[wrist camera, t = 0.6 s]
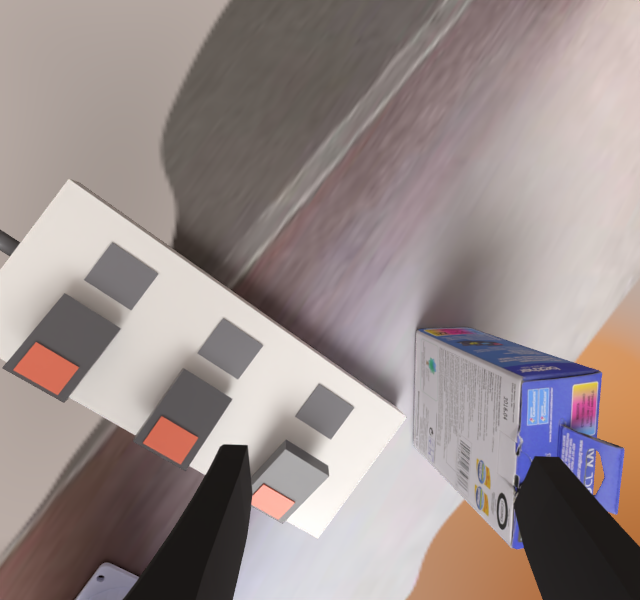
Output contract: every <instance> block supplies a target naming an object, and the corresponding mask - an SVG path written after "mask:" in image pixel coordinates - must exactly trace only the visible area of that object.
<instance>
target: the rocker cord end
mask: <svg viewBox="0 0 640 600" xmlns="http://www.w3.org/2000/svg"><path fill="white" fill-rule="evenodd" d="M120 330H121V328H120V327H118V326H116V325H115V324H113V323H112V322H110V321H109V320H107V319H105V318H104V317H102V316H101V315H99V314H97V313H96V312H94V311H93V310H91V309H90V308H88V307H86V306H85V305H83V304H82V303H80V302H78V301H77V300H75V299H74V298H72V297H71V296H69V295H67V294H65V293H64V294H63V295H62V297H61V298H60V299H59V300H58V301H57V303H56V304H55V305H54V306H53V307H52V309H51V310H50V311H49V312H48V313H47V315H46V316H45V317H44V318H43V319H42V321H41V322H40V323H39V324H38V325H37V327H36V328H35V329H34V330H33V331H32V333H31V334H30V335H29V336H28V337H27V339H26V340H25V341H24V342H23V343H22V345H21V346H20V347H19V348H18V350H17V351H16V352H15V353H14V354H13V356H12V357H11V358H10V359H9V360H8V362H7V363H6V364H5V365H4V366H3V369H5V370H6V371H8V372H10V373H12V374H14V375H15V376H17V377H19V378H21V379H22V380H24V381H26V382H28V383H30V384H32V385H33V386H35V387H37V388H39V389H41V390H42V391H44V392H46V393H47V394H49V395H51V396H53V397H55V398H56V399H58V400H60V401H62V402H65V401H66V400H67V399H68V398H69V397H70V395H71V394H72V393H73V391H74V390H75V389H76V388H77V386H78V385H79V384H80V382H81V381H82V380H83V378H84V377H85V376H86V375H87V373H88V372H89V371H90V369H91V368H92V367H93V365H94V364H95V363H96V361H97V360H98V359H99V358H100V356H101V355H102V354H103V352H104V351H105V350H106V348H107V347H108V346H109V345H110V343H111V342H112V341H113V339H114V338H115V337H116V335H117V334H118V333H119V332H120Z"/></svg>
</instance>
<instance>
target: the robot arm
mask: <svg viewBox="0 0 640 600" xmlns="http://www.w3.org/2000/svg"><path fill="white" fill-rule="evenodd" d="M252 495H253V493H252V483H251V473H250V463H249V453H248V445H234V444H223V445H222V446H220V447H219V450H218V452H217V454H216V456H215V458H214V460H213V462H212V464H211V466H210V468H209V470H208V471H207V473H206V475H205V477H204V479H203V481H202V482H201V484H200V486H199V488H198V489H197V491H196V493H195V495H194V496H193V498H192V500H191V501H190V503H189V504H188V506H187V508H186V509H185V511H184V512H183V514H182V516H181V517H180V519H179V520H178V522H177V524H176V525H175V527H174V528H173V530H172V531H171V533H170V534H169V536H168V537H167V539H166V540H165V542H164V543H163V545H162V546H161V548H160V549H159V550H158V552H157V553H156V555H155V556H154V558H153V559H152V561H151V562H150V564H149V565H148V566H147V568H146V569H145V571H144V572H143V573H142V575H141V576H140V577H138V576H136V575H134V574H132V573H130V572H128V571H126V570H123V569H121V568H119V567H117V566H115V565H113V564H111V563H103V564H101V565H100V566H99V568H98V569H97V570H96V572H95V573H94V574H93V576H92V577H91V578H90V580H89V581H88V582H87V584H86V585H85V587H84V588H83V589H82V591H81V592H80V593H79V595H78V596H77V597H76V599H75V600H233V596H234V592H235V587H236V583H237V579H238V574H239V570H240V566H241V561H242V557H243V552H244V548H245V544H246V539H247V533H248V526H249V519H250V511H251V503H252ZM513 505H514V509H515V514H516V518H517V522H518V527H519V531H520V535H521V538H522V542H523V546H524V549H525V552H526V555H527V558H528V560H529V563H530V566H531V569H532V571H533V574H534V577H535V580H536V582H537V585H538V588H539V591H540V593H541V596H542V599H543V600H640V547H639V546H638V545H637V543H635V541H634V540H633V539H632V538H631V537H630V536H629V535H628V534H627V533H626V532H625V531H624V529H623V528H622V527H621V526H620V525H619V524H618V523H617V522H616V521H615V520H614V518H613V517H612V516H611V515H610V514H609V513H608V512H607V511H606V510H605V508H604V507H603V506H602V505H601V504H600V503H599V502H598V500H597V499H596V498H595V497H594V496H593V495H592V494H591V493H590V491H589V490H588V489H587V488H586V487H585V486H584V485H583V483H582V482H581V481H580V480H579V479H578V478H577V477H576V475H575V474H574V473H573V472H572V471H571V470H570V469H569V467H568V466H567V465H566V464H565V463H564V462H563V461H562V460H561V458H560V457H547V456H534V459H533V461H532V463H531V465H530V468H529V470H528V472H527V474H526V477H525V479H524V481H523V484H522V486H521V488H520V490H519V493H518V495H517V497H516V499H515V502H514V504H513ZM99 575H103V576H104V577H103V578H100V577H99Z"/></svg>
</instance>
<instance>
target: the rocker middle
mask: <svg viewBox="0 0 640 600" xmlns="http://www.w3.org/2000/svg"><path fill="white" fill-rule="evenodd" d="M231 401H232V398H230V397H229V396H227V395H226V394H224V393H223V392H221V391H219V390H218V389H216V388H215V387H213V386H212V385H210V384H208V383H207V382H205V381H204V380H202V379H200V378H199V377H197V376H196V375H194V374H193V373H191V372H189V371H188V370H186V369H185V368H183V369H182V370H181V371H180V373H179V374H178V376H177V377H176V378H175V380H174V381H173V383H172V384H171V386H170V387H169V388H168V390H167V391H166V393H165V394H164V396H163V397H162V398H161V400H160V401H159V403H158V404H157V405H156V407H155V408H154V410H153V411H152V413H151V414H150V415H149V417H148V418H147V420H146V421H145V423H144V424H143V425H142V427H141V428H140V430H139V431H138V432H137V434H136V435H135V437H134V439H133V442H135V443H136V444H138V445H140V446H142V447H144V448H145V449H147V450H149V451H151V452H152V453H154V454H156V455H158V456H160V457H161V458H163V459H165V460H167V461H168V462H170V463H172V464H174V465H176V466H177V467H179V468H181V469H183V470H184V471H186V470H187V468H188V467H189V465H190V464H191V462H192V461H193V459H194V457H195V456H196V454H197V453H198V451H199V450H200V448H201V447H202V445H203V444H204V442H205V441H206V439H207V438H208V436H209V435H210V433H211V432H212V430H213V428H214V427H215V425H216V424H217V422H218V421H219V419H220V418H221V416H222V415H223V413H224V412H225V410H226V409H227V407H228V406H229V404H230V403H231Z"/></svg>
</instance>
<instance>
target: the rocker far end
mask: <svg viewBox="0 0 640 600" xmlns="http://www.w3.org/2000/svg"><path fill="white" fill-rule="evenodd" d="M328 477H329V469H328V465H326V464H325V463H323V462H322V461H320V460H318V459H317V458H315V457H314V456H312V455H310V454H309V453H307V452H306V451H304V450H302V449H301V448H299V447H298V446H296V445H294V444H293V443H291V442H290V441H288V440H285V441H284V442H283V443H282V444H281V445H280V446H279V447H278V448H277V449H276V450H275V452H274V453H273V454H272V455H271V456H270V457H269V458H268V459H267V460H266V461H265V462H264V464H263V465H262V466H261V467H260V468H259V469H258V470H257V471H256V472H255V473H254V474H253V475H252V477H251V483H252V493H253V495H252V503H251V506H252V507H254V508H255V509H257V510H259V511H261V512H263V513H264V514H266V515H268V516H270V517H271V518H273V519H275V520H277V521H279V522H280V523H282V524H283V523H284V522H285V521H286V520H287V519H288V518H289V517H290V516H291V515H292V514H293V513H294V512H295V511H296V510H297V509H298V508H299V507H300V506H301V505H302V504H303V503H304V502H305V501H306V499H307V498H308V497H309V496H310V495H311V494H312V493H313V492H314V491H315V490H316V489H317V488H318V487H319V486H320V485H321V484H322V483H323V482H324V481H325V480H326V479H327V478H328Z"/></svg>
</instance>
